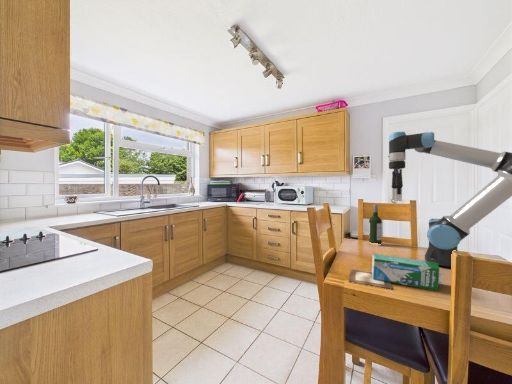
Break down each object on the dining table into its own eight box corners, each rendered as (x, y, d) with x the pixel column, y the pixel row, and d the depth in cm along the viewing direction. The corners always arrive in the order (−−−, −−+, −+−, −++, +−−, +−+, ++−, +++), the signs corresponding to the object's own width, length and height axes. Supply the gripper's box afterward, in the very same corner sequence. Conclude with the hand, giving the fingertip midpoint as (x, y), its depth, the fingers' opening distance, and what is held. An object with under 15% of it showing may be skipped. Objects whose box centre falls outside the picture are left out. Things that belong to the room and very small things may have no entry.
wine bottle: (371, 244, 162) (371, 204, 162) (383, 246, 156) (383, 204, 156) (367, 246, 157) (367, 204, 156) (379, 248, 151) (379, 205, 151)
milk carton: (374, 258, 95) (446, 269, 85) (372, 253, 104) (438, 263, 93) (373, 279, 96) (445, 292, 85) (371, 272, 104) (437, 284, 93)
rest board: (387, 276, 101) (387, 274, 101) (392, 290, 87) (392, 288, 87) (350, 270, 108) (350, 268, 108) (348, 283, 94) (349, 280, 94)
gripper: (386, 164, 131) (386, 199, 131) (391, 158, 109) (391, 201, 109) (401, 163, 128) (401, 199, 128) (410, 157, 105) (409, 201, 106)
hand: (396, 200), depth 118 cm, fingers open, 13 cm apart
